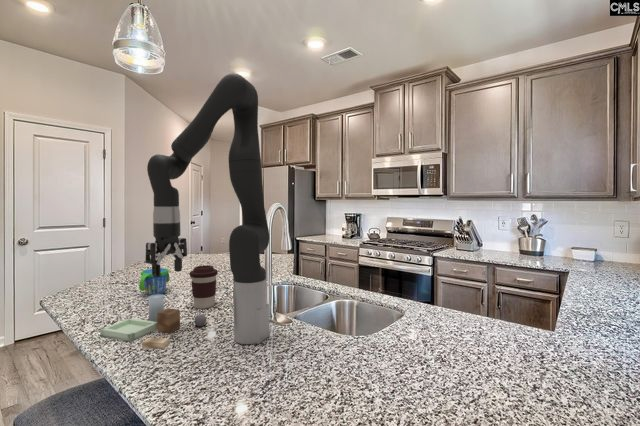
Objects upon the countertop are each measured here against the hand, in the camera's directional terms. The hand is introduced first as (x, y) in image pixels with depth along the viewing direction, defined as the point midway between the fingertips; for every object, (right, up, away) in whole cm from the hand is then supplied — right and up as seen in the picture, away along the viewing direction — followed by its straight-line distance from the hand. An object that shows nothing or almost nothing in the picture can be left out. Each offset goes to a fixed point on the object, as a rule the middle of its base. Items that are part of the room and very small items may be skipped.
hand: (167, 274), depth 101 cm
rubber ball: (+9, -16, +4) cm, 18 cm away
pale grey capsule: (-8, -17, +10) cm, 22 cm away
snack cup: (-24, -16, +41) cm, 50 cm away
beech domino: (+1, -18, -10) cm, 21 cm away
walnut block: (0, -18, +1) cm, 18 cm away
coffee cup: (+3, -17, +24) cm, 30 cm away
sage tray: (-11, -18, -1) cm, 21 cm away
